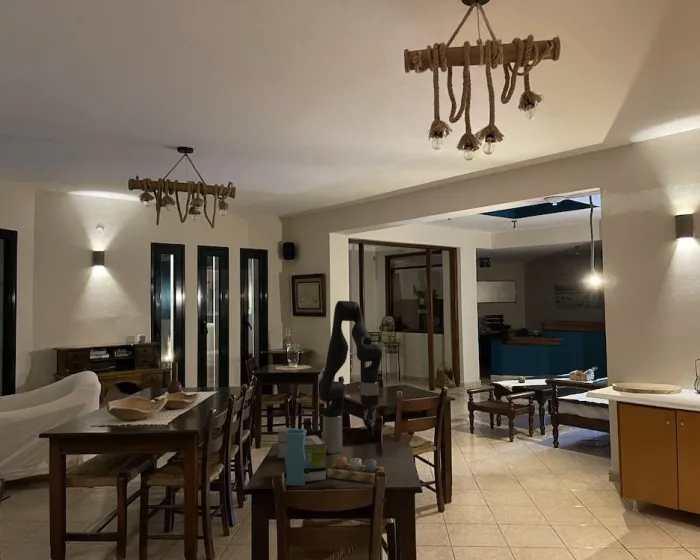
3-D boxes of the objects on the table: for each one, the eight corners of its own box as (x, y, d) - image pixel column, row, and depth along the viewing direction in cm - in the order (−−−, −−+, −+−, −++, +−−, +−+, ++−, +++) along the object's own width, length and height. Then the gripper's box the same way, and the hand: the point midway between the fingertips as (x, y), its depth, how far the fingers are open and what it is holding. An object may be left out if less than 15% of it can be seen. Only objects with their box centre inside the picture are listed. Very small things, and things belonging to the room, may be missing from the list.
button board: (327, 477, 219) (327, 469, 219) (337, 469, 229) (337, 462, 230) (375, 482, 212) (375, 475, 212) (384, 474, 222) (384, 467, 222)
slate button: (363, 472, 217) (363, 462, 217) (367, 468, 221) (366, 458, 222) (374, 473, 215) (374, 463, 215) (378, 470, 220) (377, 459, 220)
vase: (288, 478, 218) (288, 429, 219) (307, 478, 217) (307, 429, 218) (284, 485, 210) (284, 433, 211) (304, 485, 210) (304, 434, 210)
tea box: (326, 479, 216) (326, 442, 217) (302, 482, 213) (302, 445, 213) (317, 468, 230) (316, 434, 231) (294, 471, 227) (294, 436, 228)
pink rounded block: (333, 469, 222) (333, 458, 222) (338, 465, 226) (338, 455, 226) (344, 470, 220) (344, 460, 220) (348, 466, 224) (348, 456, 225)
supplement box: (277, 458, 246) (277, 430, 247) (285, 454, 253) (285, 427, 254) (291, 459, 244) (291, 432, 244) (299, 455, 251) (299, 428, 251)
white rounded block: (348, 470, 219) (348, 460, 219) (352, 467, 224) (352, 457, 224) (359, 472, 218) (359, 461, 218) (363, 468, 222) (363, 458, 222)
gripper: (366, 390, 227) (367, 431, 227) (355, 395, 215) (356, 438, 214) (383, 390, 225) (383, 432, 224) (373, 396, 212) (373, 440, 211)
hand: (370, 435), depth 219 cm, fingers closed
